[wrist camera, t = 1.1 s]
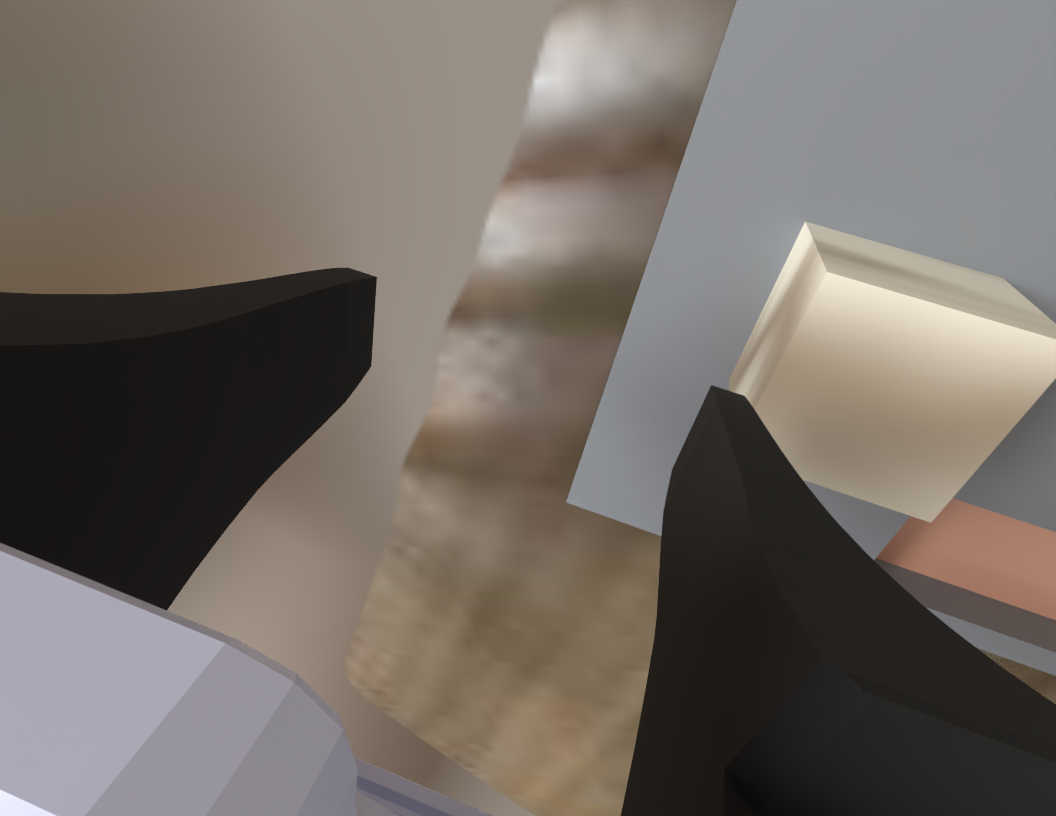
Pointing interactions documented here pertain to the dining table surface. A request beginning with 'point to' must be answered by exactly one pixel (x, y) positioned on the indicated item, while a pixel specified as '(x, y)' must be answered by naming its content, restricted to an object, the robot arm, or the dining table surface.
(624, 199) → the dining table surface
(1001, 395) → the cream block
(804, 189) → the board
